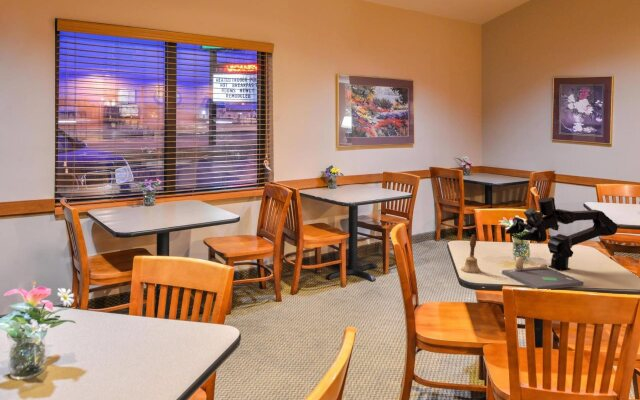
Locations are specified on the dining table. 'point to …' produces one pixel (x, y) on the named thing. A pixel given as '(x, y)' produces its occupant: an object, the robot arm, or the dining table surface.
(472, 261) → the hand bell
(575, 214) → the robot arm
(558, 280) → the grey flat square slab
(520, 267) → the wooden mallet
